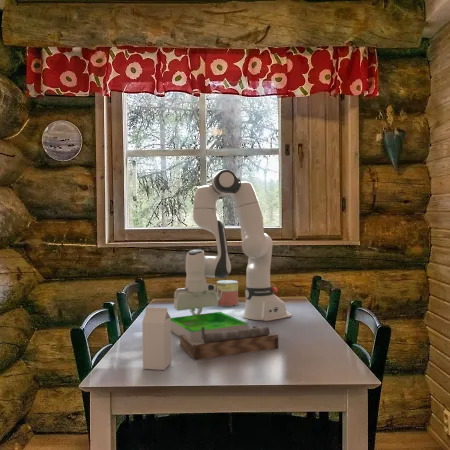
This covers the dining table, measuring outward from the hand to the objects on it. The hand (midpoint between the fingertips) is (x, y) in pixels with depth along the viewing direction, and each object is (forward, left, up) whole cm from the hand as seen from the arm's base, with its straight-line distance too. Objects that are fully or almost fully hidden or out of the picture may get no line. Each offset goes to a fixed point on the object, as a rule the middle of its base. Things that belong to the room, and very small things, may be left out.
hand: (196, 318), depth 203 cm
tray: (0, +14, -3) cm, 14 cm away
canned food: (-29, -34, -3) cm, 45 cm away
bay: (0, +37, -3) cm, 37 cm away
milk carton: (+29, +47, -3) cm, 55 cm away
